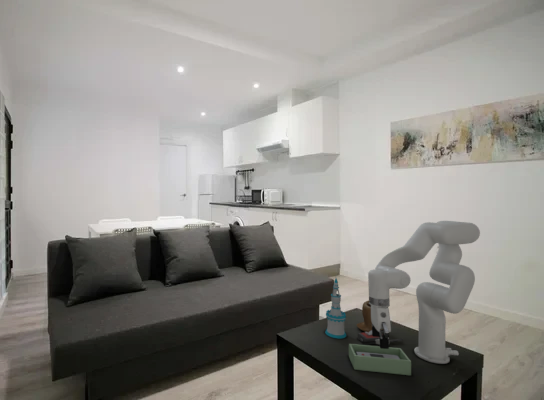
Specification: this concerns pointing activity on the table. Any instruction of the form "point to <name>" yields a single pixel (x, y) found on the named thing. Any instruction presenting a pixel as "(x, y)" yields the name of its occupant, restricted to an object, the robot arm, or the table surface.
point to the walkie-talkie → (372, 338)
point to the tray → (379, 360)
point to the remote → (377, 355)
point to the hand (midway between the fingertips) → (380, 342)
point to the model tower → (335, 315)
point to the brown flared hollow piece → (366, 318)
